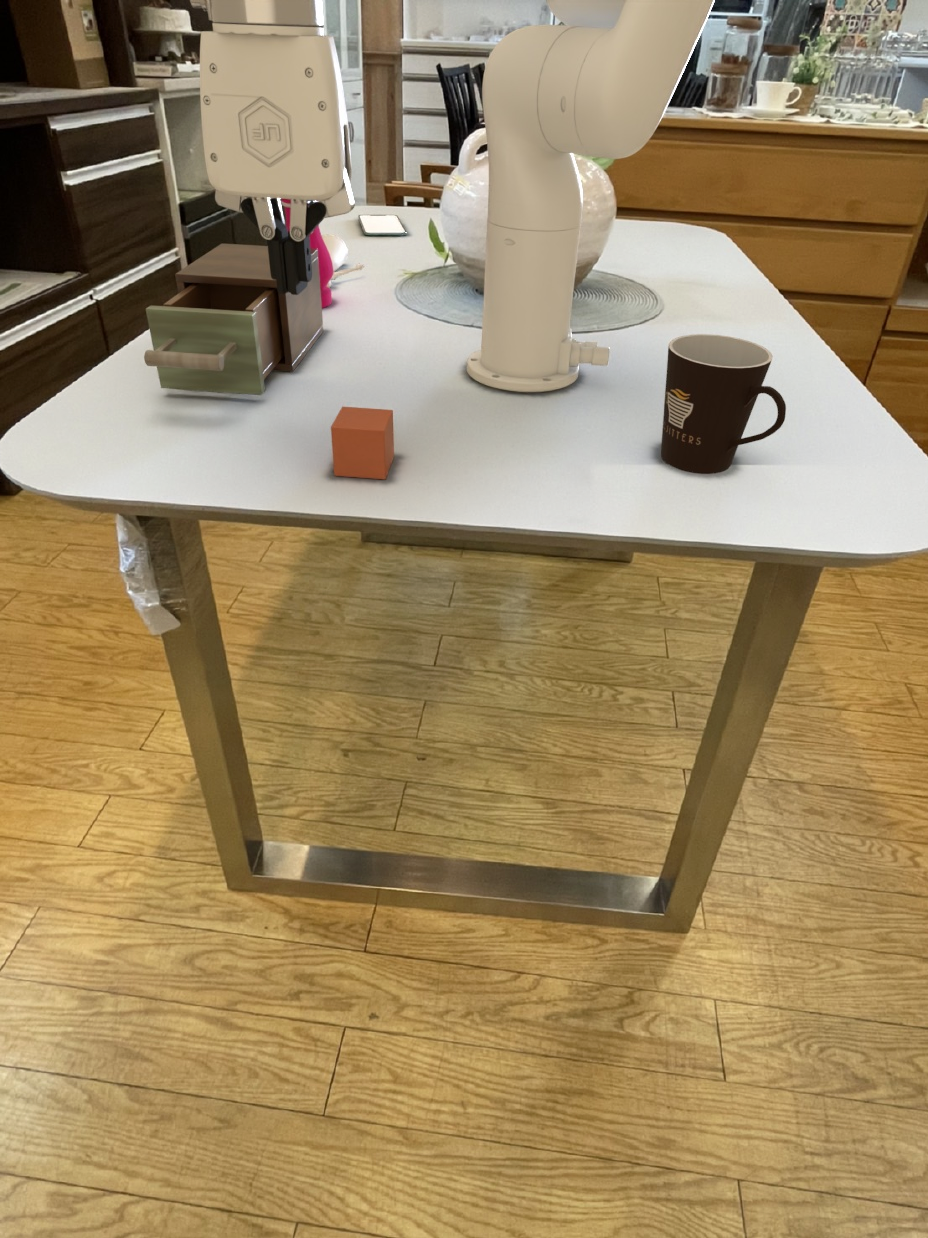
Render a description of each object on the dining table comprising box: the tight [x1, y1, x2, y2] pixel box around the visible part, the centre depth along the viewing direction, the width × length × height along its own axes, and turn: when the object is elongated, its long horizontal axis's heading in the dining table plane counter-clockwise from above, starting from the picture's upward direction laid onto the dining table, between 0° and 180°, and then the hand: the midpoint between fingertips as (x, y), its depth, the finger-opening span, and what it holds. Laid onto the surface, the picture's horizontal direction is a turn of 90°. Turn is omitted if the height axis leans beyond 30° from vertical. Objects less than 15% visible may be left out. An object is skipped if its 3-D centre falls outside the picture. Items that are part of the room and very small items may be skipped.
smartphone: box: [357, 214, 407, 236], centre depth 151 cm, size 8×1×16 cm
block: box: [330, 406, 395, 480], centre depth 69 cm, size 4×4×4 cm
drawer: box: [143, 283, 284, 396], centre depth 82 cm, size 19×10×8 cm, turn 175°
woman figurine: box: [321, 234, 365, 288], centre depth 121 cm, size 12×4×18 cm
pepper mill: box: [280, 198, 333, 309], centre depth 104 cm, size 7×7×20 cm
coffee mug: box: [660, 333, 787, 475], centre depth 70 cm, size 12×9×10 cm
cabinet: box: [174, 243, 324, 373], centre depth 92 cm, size 15×12×10 cm
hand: (293, 289), depth 65 cm, fingers closed
